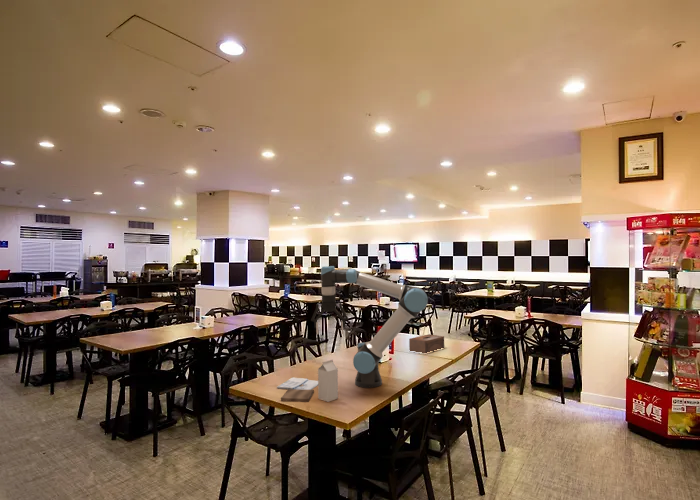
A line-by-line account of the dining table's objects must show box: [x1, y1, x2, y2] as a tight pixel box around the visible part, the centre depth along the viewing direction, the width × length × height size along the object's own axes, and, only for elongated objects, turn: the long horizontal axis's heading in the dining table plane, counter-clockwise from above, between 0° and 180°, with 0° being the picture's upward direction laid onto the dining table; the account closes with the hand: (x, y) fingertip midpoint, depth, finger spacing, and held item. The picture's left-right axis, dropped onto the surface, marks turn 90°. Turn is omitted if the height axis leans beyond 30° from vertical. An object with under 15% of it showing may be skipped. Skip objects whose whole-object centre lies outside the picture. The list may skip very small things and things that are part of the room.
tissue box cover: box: [408, 333, 445, 353], centre depth 307 cm, size 26×14×10 cm, turn 134°
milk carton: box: [317, 359, 339, 403], centre depth 199 cm, size 7×7×19 cm
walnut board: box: [280, 389, 315, 403], centre depth 203 cm, size 14×14×2 cm
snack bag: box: [276, 376, 318, 390], centre depth 222 cm, size 19×20×2 cm
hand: (330, 333), depth 214 cm, fingers open, 13 cm apart
